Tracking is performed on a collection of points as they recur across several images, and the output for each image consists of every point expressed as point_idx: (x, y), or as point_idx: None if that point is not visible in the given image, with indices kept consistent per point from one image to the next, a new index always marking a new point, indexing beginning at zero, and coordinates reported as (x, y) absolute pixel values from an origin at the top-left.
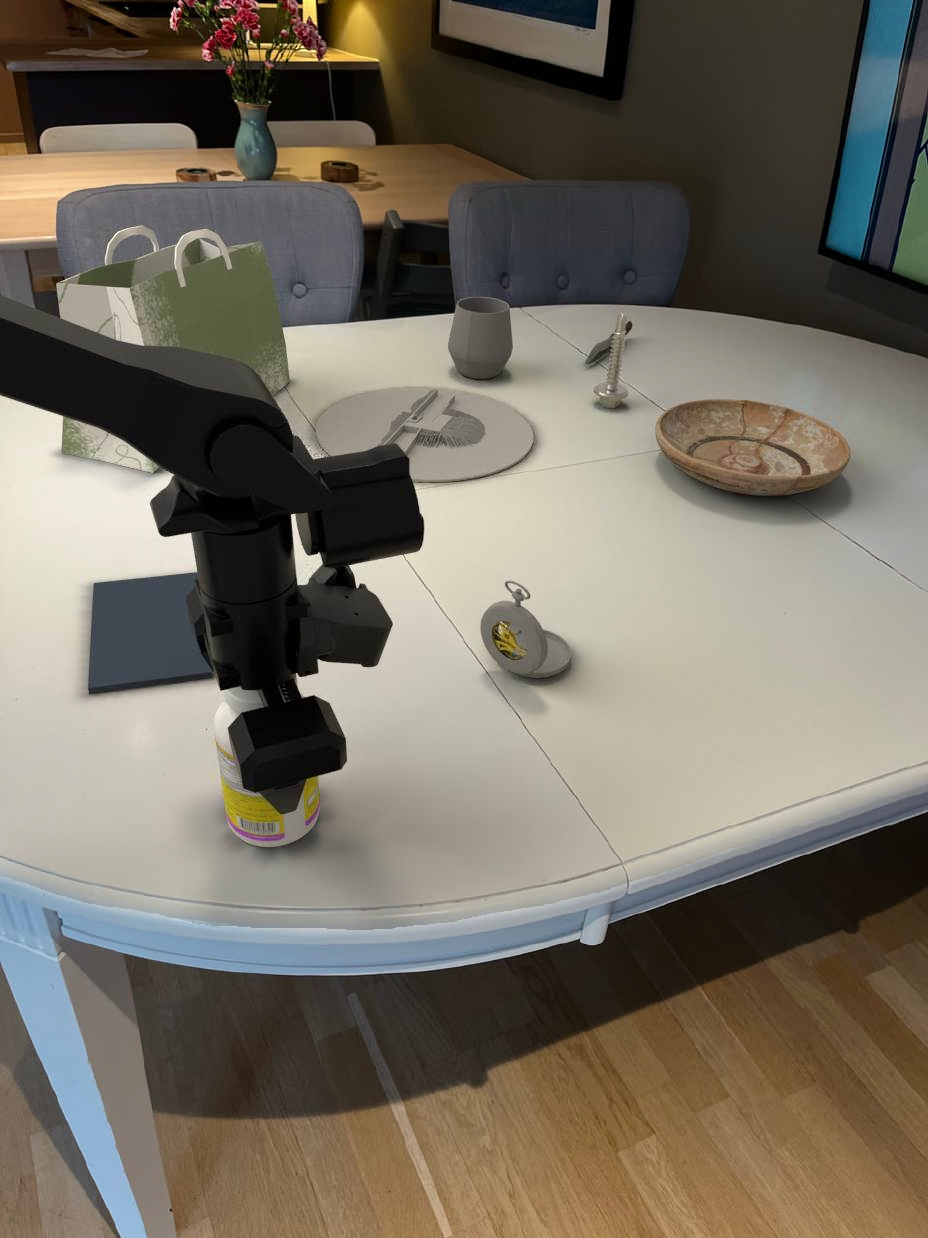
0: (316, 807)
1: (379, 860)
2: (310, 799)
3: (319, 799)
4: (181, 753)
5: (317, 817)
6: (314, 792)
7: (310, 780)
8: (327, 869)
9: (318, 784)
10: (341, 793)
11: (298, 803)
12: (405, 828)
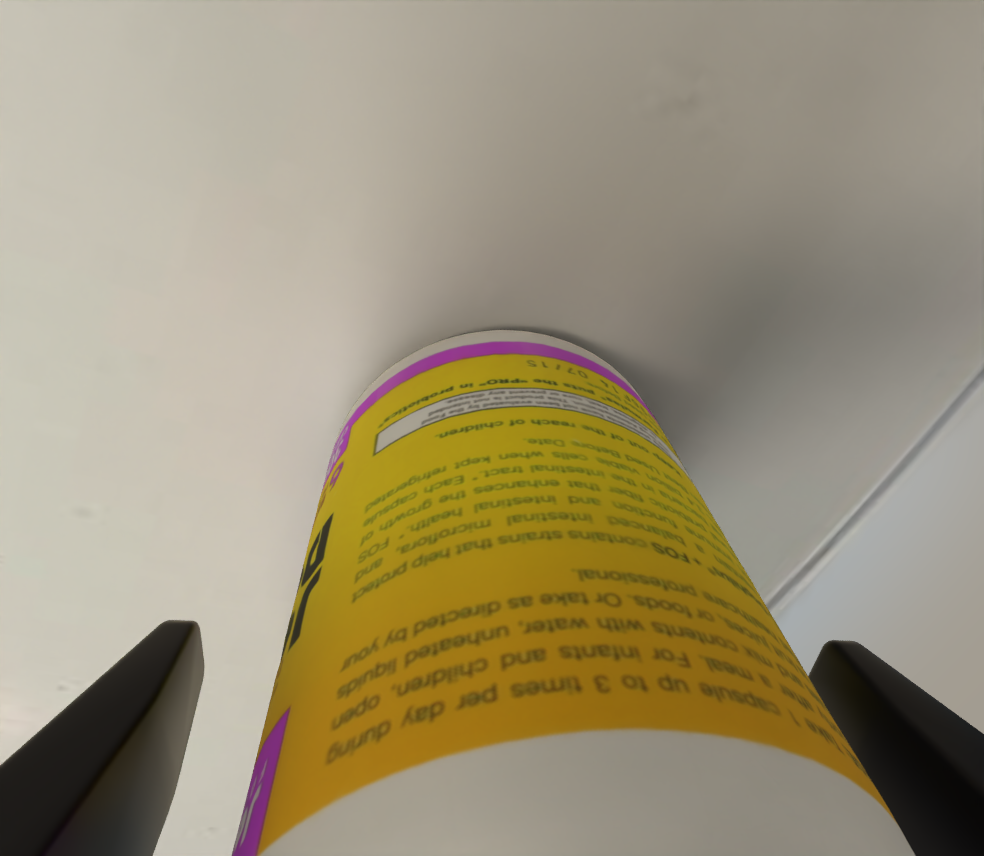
0: (638, 402)
1: (890, 215)
2: (688, 476)
3: (582, 363)
4: (87, 637)
5: (615, 370)
6: (669, 455)
7: (725, 539)
8: (799, 393)
9: (608, 408)
10: (501, 210)
11: (908, 680)
12: (832, 28)
